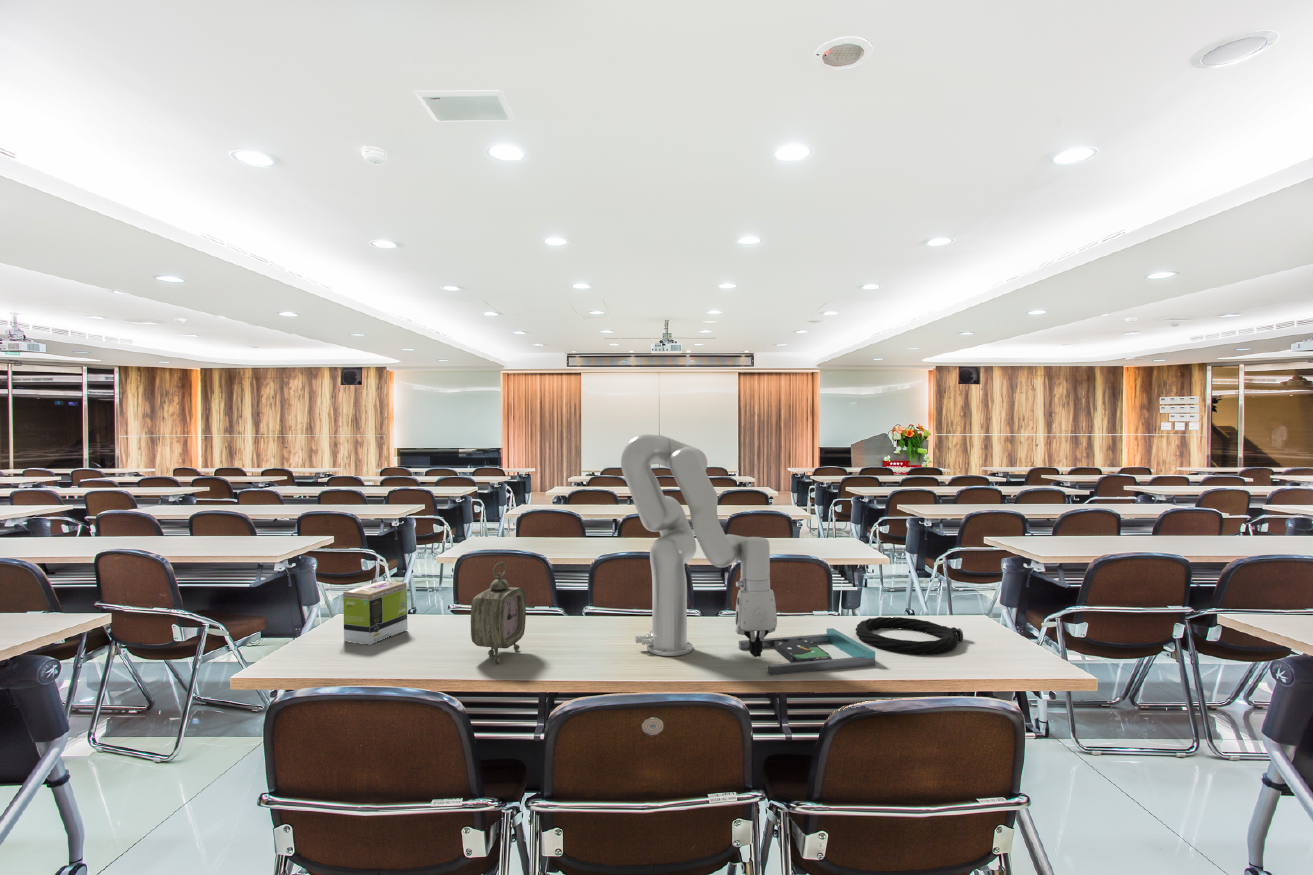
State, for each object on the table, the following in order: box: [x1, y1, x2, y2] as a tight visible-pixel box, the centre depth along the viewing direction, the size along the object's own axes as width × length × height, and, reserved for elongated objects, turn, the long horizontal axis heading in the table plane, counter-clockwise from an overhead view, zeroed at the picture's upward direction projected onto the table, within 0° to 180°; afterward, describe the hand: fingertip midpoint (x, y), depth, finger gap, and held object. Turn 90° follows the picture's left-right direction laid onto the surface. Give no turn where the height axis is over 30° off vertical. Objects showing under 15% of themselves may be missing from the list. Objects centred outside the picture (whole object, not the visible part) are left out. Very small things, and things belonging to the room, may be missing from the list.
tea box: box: [343, 580, 408, 646], centre depth 181 cm, size 15×10×15 cm, turn 160°
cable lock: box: [855, 616, 964, 656], centre depth 179 cm, size 28×4×30 cm
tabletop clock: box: [470, 561, 527, 665], centre depth 164 cm, size 14×9×25 cm, turn 166°
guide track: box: [738, 627, 876, 676], centre depth 165 cm, size 29×21×4 cm
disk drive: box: [773, 639, 833, 663], centre depth 165 cm, size 10×3×15 cm
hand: (755, 655), depth 161 cm, fingers closed
